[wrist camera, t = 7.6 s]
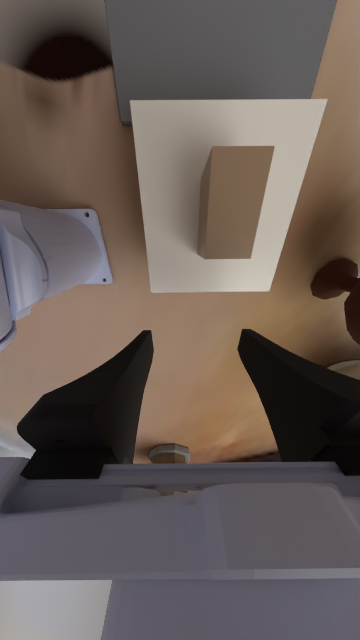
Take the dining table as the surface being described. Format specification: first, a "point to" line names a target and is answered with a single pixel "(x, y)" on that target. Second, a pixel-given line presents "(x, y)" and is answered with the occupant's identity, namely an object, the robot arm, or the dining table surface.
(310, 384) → the robot arm
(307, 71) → the mat
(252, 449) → the dining table surface
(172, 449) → the tankard
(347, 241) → the dining table surface
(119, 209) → the dining table surface
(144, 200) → the lid
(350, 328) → the ice cream bowl
